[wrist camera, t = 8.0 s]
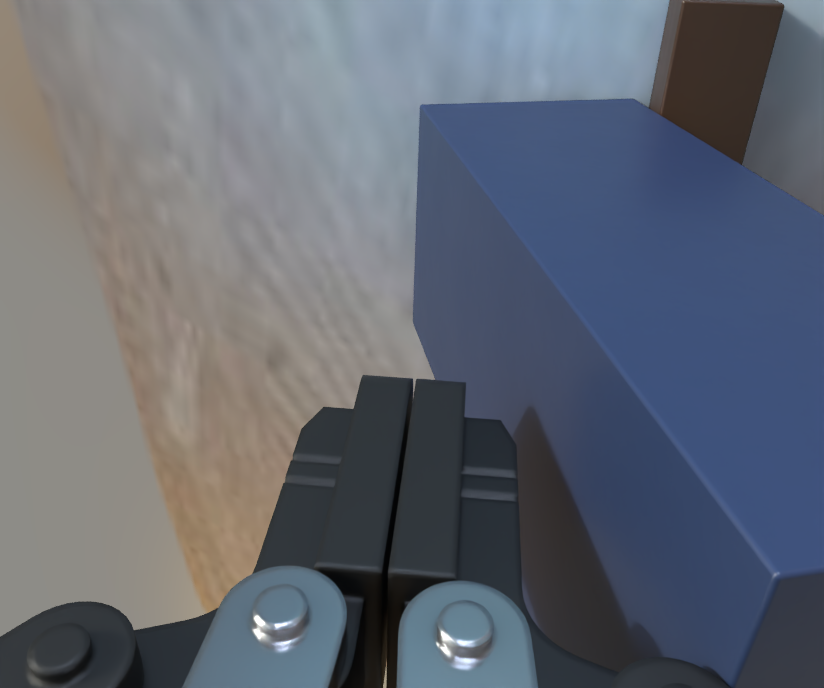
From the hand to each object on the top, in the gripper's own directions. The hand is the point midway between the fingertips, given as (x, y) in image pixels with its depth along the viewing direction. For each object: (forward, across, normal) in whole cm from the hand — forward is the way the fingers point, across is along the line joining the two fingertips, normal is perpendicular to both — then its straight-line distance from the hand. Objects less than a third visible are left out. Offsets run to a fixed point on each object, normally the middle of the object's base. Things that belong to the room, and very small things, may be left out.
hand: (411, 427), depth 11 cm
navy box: (+8, -2, 0) cm, 9 cm away
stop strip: (+9, -6, 0) cm, 11 cm away
